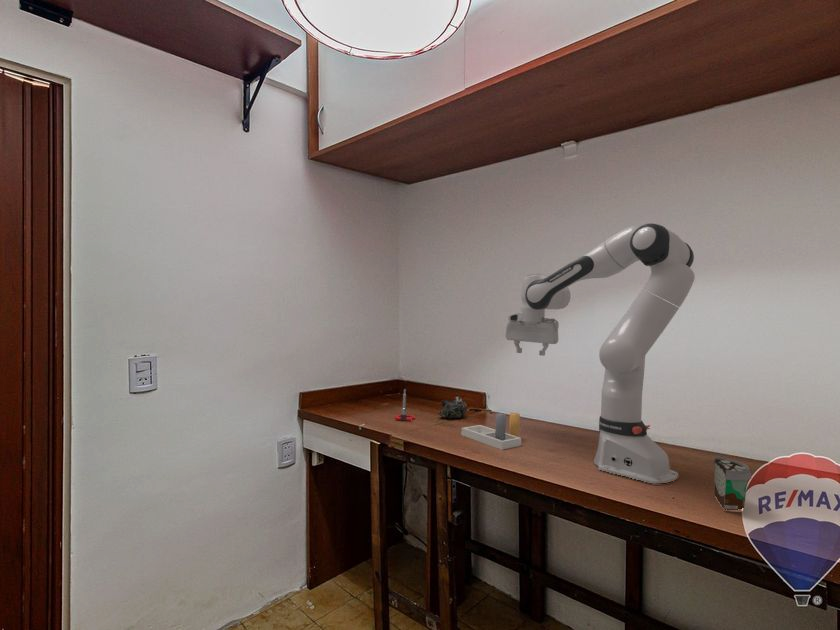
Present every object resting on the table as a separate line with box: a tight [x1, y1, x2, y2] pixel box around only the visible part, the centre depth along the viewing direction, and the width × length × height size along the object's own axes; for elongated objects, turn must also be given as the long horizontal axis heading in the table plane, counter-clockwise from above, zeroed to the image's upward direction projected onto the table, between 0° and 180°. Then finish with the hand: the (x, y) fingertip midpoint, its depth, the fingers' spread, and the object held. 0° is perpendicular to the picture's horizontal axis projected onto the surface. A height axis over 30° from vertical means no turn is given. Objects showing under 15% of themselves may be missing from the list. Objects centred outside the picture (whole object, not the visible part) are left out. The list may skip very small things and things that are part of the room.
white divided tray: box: [461, 424, 522, 451], centre depth 154 cm, size 20×9×4 cm, turn 35°
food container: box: [713, 455, 752, 510], centre depth 107 cm, size 12×6×10 cm, turn 158°
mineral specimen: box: [437, 396, 468, 420], centre depth 193 cm, size 15×13×10 cm
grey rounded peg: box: [495, 412, 507, 441], centre depth 151 cm, size 4×4×10 cm
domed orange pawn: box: [508, 412, 521, 438], centre depth 157 cm, size 4×4×10 cm
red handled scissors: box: [394, 388, 416, 422], centre depth 187 cm, size 8×13×9 cm
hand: (530, 354), depth 169 cm, fingers open, 8 cm apart
